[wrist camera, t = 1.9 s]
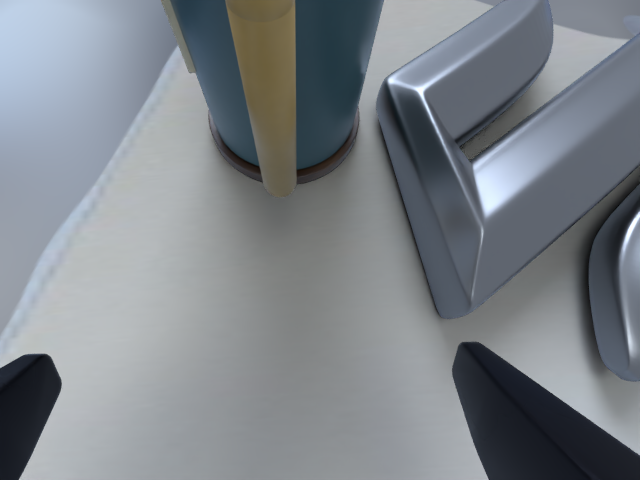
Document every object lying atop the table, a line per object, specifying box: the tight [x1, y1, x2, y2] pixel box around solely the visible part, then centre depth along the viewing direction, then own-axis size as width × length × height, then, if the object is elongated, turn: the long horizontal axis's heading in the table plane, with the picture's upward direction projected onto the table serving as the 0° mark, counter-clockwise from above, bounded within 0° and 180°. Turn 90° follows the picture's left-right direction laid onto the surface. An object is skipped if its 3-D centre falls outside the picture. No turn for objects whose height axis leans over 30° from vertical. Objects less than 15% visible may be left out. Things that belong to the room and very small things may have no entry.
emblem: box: [376, 0, 640, 381], centre depth 23 cm, size 28×5×28 cm
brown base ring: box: [209, 108, 359, 184], centre depth 25 cm, size 11×11×1 cm
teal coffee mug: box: [161, 0, 384, 197], centre depth 16 cm, size 14×10×15 cm
